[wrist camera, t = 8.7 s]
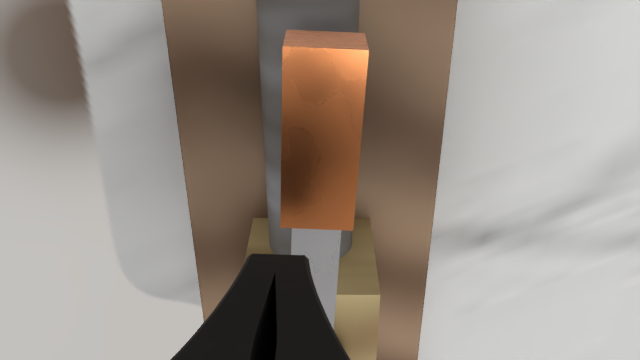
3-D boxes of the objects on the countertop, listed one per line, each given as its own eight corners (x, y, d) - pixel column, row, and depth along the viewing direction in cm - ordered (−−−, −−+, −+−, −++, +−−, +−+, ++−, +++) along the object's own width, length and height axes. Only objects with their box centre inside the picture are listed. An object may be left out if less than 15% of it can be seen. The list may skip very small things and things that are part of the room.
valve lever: (343, 384, 20) (345, 422, 19) (272, 382, 20) (268, 419, 19) (376, 33, 14) (381, 50, 13) (274, 28, 14) (269, 45, 13)
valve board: (404, 432, 31) (422, 549, 26) (223, 431, 31) (203, 548, 26) (453, -27, 19) (503, 10, 14) (165, -27, 20) (106, 11, 14)
